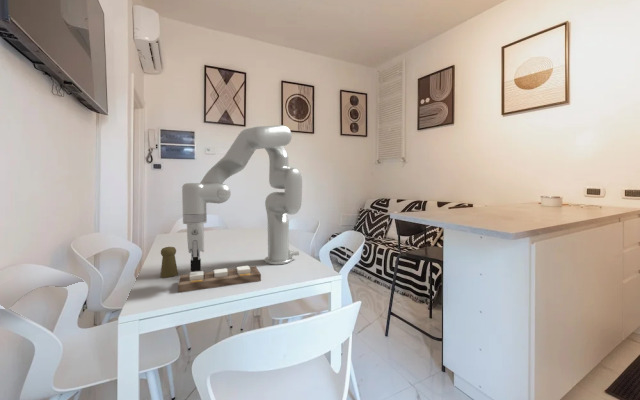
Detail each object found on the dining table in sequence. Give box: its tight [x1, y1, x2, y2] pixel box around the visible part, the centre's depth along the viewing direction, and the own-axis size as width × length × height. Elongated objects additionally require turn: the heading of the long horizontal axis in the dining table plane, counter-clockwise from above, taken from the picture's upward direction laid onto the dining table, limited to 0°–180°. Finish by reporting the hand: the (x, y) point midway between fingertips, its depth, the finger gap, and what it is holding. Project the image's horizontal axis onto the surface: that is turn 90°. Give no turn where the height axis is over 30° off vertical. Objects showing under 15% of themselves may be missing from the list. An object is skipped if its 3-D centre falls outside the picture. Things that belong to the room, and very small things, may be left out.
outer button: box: [189, 270, 204, 281], centre depth 96 cm, size 4×4×2 cm
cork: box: [160, 246, 179, 279], centre depth 105 cm, size 6×6×11 cm
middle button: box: [213, 267, 228, 278], centre depth 99 cm, size 4×4×2 cm
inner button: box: [236, 265, 251, 275], centre depth 102 cm, size 4×4×2 cm
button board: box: [177, 265, 262, 293], centre depth 99 cm, size 27×10×3 cm, turn 114°
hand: (195, 270), depth 95 cm, fingers closed
